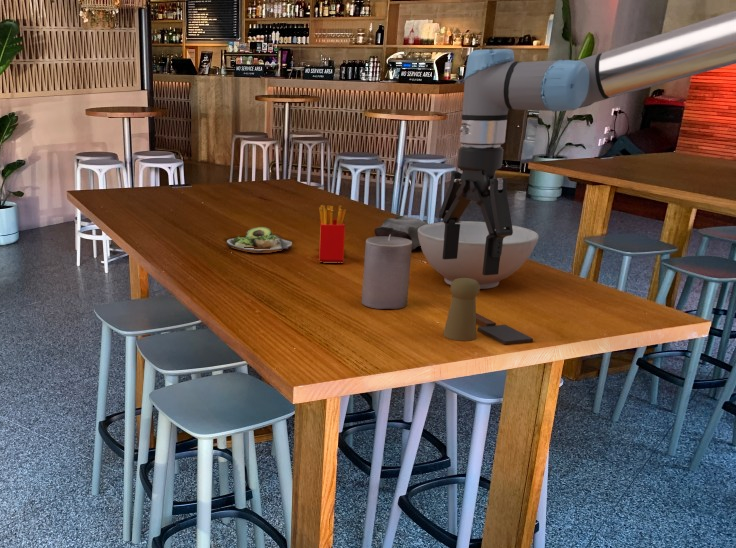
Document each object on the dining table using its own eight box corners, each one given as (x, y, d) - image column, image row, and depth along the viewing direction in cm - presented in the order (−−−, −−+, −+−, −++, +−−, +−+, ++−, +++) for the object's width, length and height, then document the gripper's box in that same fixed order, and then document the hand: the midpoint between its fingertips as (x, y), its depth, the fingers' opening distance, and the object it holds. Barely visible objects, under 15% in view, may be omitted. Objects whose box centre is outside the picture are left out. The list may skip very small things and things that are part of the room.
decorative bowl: (543, 278, 191) (551, 228, 186) (513, 304, 170) (521, 248, 166) (435, 264, 205) (440, 217, 200) (396, 286, 184) (400, 235, 179)
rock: (367, 241, 232) (369, 214, 229) (401, 239, 235) (403, 212, 232) (399, 254, 216) (401, 225, 213) (435, 252, 219) (438, 223, 216)
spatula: (532, 342, 146) (533, 335, 146) (504, 344, 145) (505, 338, 145) (478, 315, 163) (479, 309, 162) (452, 317, 161) (453, 311, 161)
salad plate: (309, 250, 220) (310, 234, 219) (257, 258, 212) (257, 241, 210) (269, 239, 236) (270, 223, 234) (219, 246, 227) (218, 230, 225)
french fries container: (317, 264, 206) (319, 209, 200) (316, 256, 214) (318, 204, 209) (344, 264, 205) (347, 210, 200) (343, 256, 213) (345, 204, 208)
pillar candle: (378, 295, 177) (383, 228, 171) (416, 303, 170) (422, 234, 165) (352, 303, 171) (356, 234, 165) (389, 313, 164) (395, 241, 159)
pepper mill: (437, 332, 152) (442, 276, 148) (464, 329, 154) (470, 274, 149) (454, 342, 147) (461, 284, 142) (482, 339, 148) (489, 281, 144)
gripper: (426, 141, 147) (417, 254, 155) (504, 152, 125) (489, 283, 133) (461, 140, 149) (451, 251, 157) (545, 150, 127) (528, 280, 135)
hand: (469, 266), depth 145 cm, fingers open, 13 cm apart
